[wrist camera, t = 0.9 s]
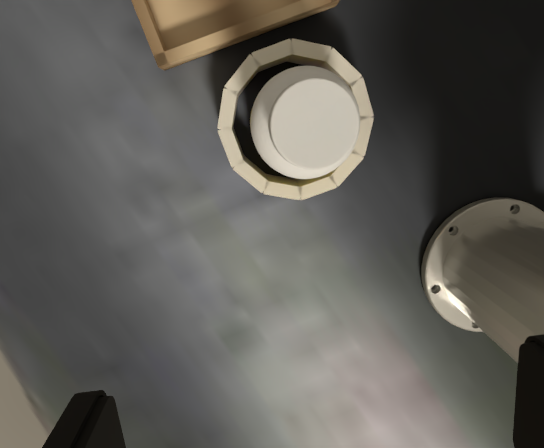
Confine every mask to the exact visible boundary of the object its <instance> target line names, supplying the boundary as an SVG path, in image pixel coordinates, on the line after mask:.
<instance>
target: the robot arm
mask: <svg viewBox="0 0 544 448" xmlns="http://www.w3.org/2000/svg"><path fill="white" fill-rule="evenodd" d="M450 227H451V229H450ZM449 229H450V230H449ZM421 277H422V284H423V288H424V292H425V294H426V296H427V298H428V301H429V302H430V304H431V305H432V306H433V308H434V309H435V310H436V311H437V312H438V313H439V314H440V315H441V316H442V317H443V318H444V319H445V320H447V321H448V322H450V323H451V324H453V325H455V326H457V327H460V328H462V329H464V330H469V331H474V332H484V333H486V334H487V335H488V336H489V337H490V338H491V339H492V340H493V341H494V342H495V343H496V344H498V345H499V346H500V347H501V348H502V349H503V350H504V351H505V352H506V353H507V354H508V355H510V356H511V357H512V358H513V359H514V360H515V361H516V362H517V363H518V371H517V386H516V400H515V414H514V429H513V443H514V447H515V448H544V212H543V211H542V210H540V209H538V208H537V207H535V206H533V205H531V204H529V203H526V202H523V201H520V200H516V199H512V198H502V197H494V198H488V199H482V200H479V201H476V202H473V203H470V204H468V205H466V206H464V207H462V208H461V209H459V210H457V211H456V212H454V213H453V214H452V215H451V216H449V217H448V218H447V219H446V220H445V221H444V222H443V223H442V224H441V225H440V226H439V227H438V229H437V230H436V231H435V233H434V234H433V236H432V238H431V239H430V241H429V243H428V245H427V248H426V250H425V253H424V256H423V261H422V267H421ZM432 286H433V287H432ZM42 448H126V446H125V442H124V438H123V433H122V429H121V425H120V420H119V416H118V412H117V407H116V403H115V400H114V398H113V396H106V393H105V392H104V391H103V390H98V391H90V392H82V393H77V394H75V395H74V396H73V397H72V399H71V400H70V402H69V404H68V405H67V407H66V409H65V410H64V412H63V414H62V415H61V417H60V419H59V420H58V422H57V424H56V425H55V427H54V429H53V430H52V432H51V434H50V435H49V437H48V439H47V440H46V442H45V444H44V445H43V447H42Z"/></svg>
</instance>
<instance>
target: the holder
mask: <svg viewBox="0 0 544 448" xmlns="http://www.w3.org/2000/svg"><path fill="white" fill-rule="evenodd" d="M284 62H291V63H296V64H301V65H306V66H316V67H321V68H324V69H327V70H329V71H331V72H333V73H334V74H336V75H337V76H339V77H340V78H341V79H342V80H343V81H344V82H345V83H346V84H347V85H348V86H349V88H350V89H351V90H352V92H353V94H354V96H355V98H356V101H357V104H358V107H359V112H360V130H359V135H358V139H357V142H356V144H355V147H354V149H353V150H352V152H351V154H350V155H349V156H348V158H347V159H346V160H345V161H344V162H343V163H342V164H341V165H340V166H339V167H338V168H336V169H335V170H333V171H331V172H330V173H328V174H326V175H324V176H321V177H318V178H312V179H297V178H296V179H291V178H286V177H280V176H274V175H269V174H266V173H264V172H263V171H262V170H261V169H260V168H258V167H257V166H256V165H255V164H254V163H252V162H251V161H250V160H249V159H248V158H247V157H245V156H244V154H243V151H242V149H241V146H240V143H239V140H238V138H237V135H236V132H235V130H234V121H235V115H236V108H237V102H238V96H239V95H240V94H241V93H242V91H243V90H244V89H245V88H246V86H247V85H248V84H249V83H250V81H251V80H252V79H253V78H254V76H255V75H256V74H257V73H258V72H260V71H262V70H265V69H268V68H271V67H273V66H276V65H279V64H281V63H284ZM361 76H362V75H361V74H360V73H359V72H358V71H357V70H356V69H355V68H354V67H353V66H352V65H351V64H350V63H349V62H348V61H347V60H346V59H345V58H344V57H342V56H341V55H340V54H339V53H338V52H337V51H336V50H335V49H334V48H332V49H331V46H326V45H321V44H317V43H312V42H307V41H303V40H298V39H293V38H292V39H291V40H290V39H287V40H284V41H282V42H279V43H276V44H274V45H271V46H268V47H265V48H263V49H260V50H257V51H255V52H252V54H251V55H250V54H249V56H248V57H247V58H246V59H245V61H244V62H243V63H242V64H241V66H240V67H239V68H238V70H237V71H236V72H235V73H234V75H233V76H232V77H231V78H230V80H229V81H228V82H227V83H226V85H225V86H224V87H225V88H226V89H224V88H223V94H222V101H221V108H220V114H219V121H218V128H217V129H220V130H218V133H219V136H220V138H221V141H222V144H223V146H224V149H225V152H226V154H227V157H228V159H229V162H230V165H231V167H233V170H234V171H236V172H237V173H238V174H239V175H240V176H242V177H243V178H244V179H245V180H246V181H248V182H249V183H250V184H251V185H253V186H254V187H255V188H256V189H257V190H259V191H260V192H261V193H262V192H263V194H266V195H272V196H278V197H284V198H290V199H295V200H300V198H301V200H304V199H306V198H309V197H312V196H315V195H318V194H320V193H323V192H326V191H329V190H331V189H334V188H337V187H336V185H337V186H339V185H340V184H341V183H342V182H343V181H344V180H345V179H346V177H347V176H348V175H349V174H350V173H351V172H352V171H353V170H354V168H355V167H356V166H357V165H358V164H359V163H360V162H361V161H362V159H363V157H362V156H365V153H366V149H367V145H368V140H369V136H370V132H371V128H372V124H373V119H374V118H372V116H374V115H373V111H372V107H371V104H370V100H369V97H368V93H367V89H366V86H365V82H364V79H363V78H360V77H361Z"/></svg>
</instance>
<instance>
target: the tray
mask: <svg viewBox="0 0 544 448" xmlns="http://www.w3.org/2000/svg"><path fill="white" fill-rule="evenodd" d="M339 1H340V0H132V3H133V5H134V8H135V10H136V13H137V15H138V18H139V20H140V23H141V25H142V28H143V30H144V33H145V35H146V38H147V40H148V43H149V45H150V48H151V50H152V53H153V55H154V58H155V60H156V63H157V65H158V67H159V68H161V69H163V70H167V69H170V68H173V67H175V66H178V65H181V64H183V63H186V62H189V61H191V60H194V59H197V58H199V57H202V56H205V55H207V54H210V53H213V52H215V51H218V50H221V49H223V48H226V47H229V46H231V45H234V44H237V43H239V42H242V41H245V40H247V39H250V38H253V37H256V36H258V35H261V34H264V33H266V32H269V31H272V30H274V29H277V28H280V27H282V26H285V25H288V24H290V23H293V22H296V21H298V20H301V19H304V18H306V17H309V16H312V15H314V14H317V13H320V12H322V11H325V10H328V9H330V8H333V7H335V6H336V5H337V4H338V2H339Z"/></svg>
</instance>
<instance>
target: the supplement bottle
mask: <svg viewBox="0 0 544 448" xmlns="http://www.w3.org/2000/svg"><path fill="white" fill-rule="evenodd" d="M250 129H251V135H252V138H253V142H254V144H255V147H256V149H257V151H258V153H259V154H260V156H261V157H262V159H263V160H264V161H265V162H266V163H267V164H268V165H269V166H270V167H271V168H273V169H274V170H276V171H277V172H279V173H281V174H283V175H285V176H288V177H292V178H297V179H312V178H318V177H321V176H324V175H326V174H328V173H330V172H331V171H333V170H335V169H336V168H338V167H339V166H340V165H341V164H342V163H343V162H344V161H345V160H346V159H347V158H348V156H349V155H350V154H351V152H352V150H353V149H354V147H355V144H356V142H357V139H358V135H359V130H360V112H359V107H358V104H357V101H356V98H355V96H354V94H353V92H352V90H351V89H350V88H349V86H348V85H347V84H346V83H345V82H344V81H343V80H342V79H341V78H340V77H339V76H337V75H336V74H334V73H333V72H331V71H329V70H327V69H324V68H321V67H316V66H297V67H293V68H289V69H287V70H284V71H282V72H280V73H279V74H277V75H276V76H274V77H273V78H271V79H270V80H269V81H268V82H267V83H266V84H265V85H264V87H263V88H262V89H261V91H260V92H259V94H258V95H257V97H256V99H255V102H254V105H253V108H252V111H251V116H250Z"/></svg>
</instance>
